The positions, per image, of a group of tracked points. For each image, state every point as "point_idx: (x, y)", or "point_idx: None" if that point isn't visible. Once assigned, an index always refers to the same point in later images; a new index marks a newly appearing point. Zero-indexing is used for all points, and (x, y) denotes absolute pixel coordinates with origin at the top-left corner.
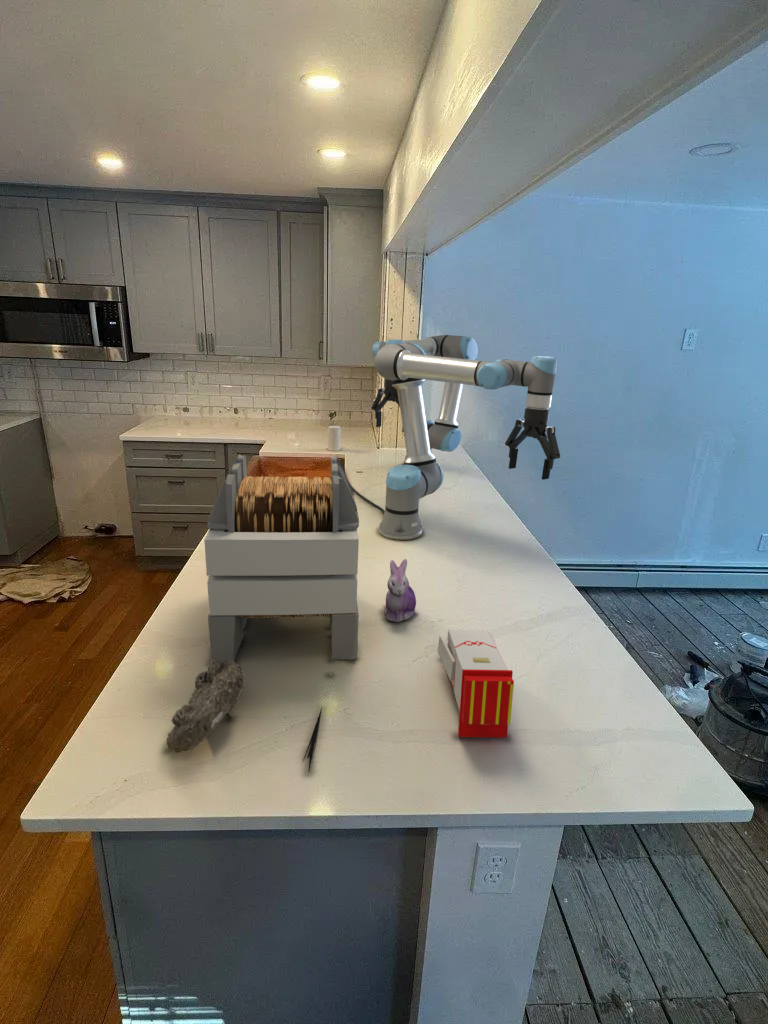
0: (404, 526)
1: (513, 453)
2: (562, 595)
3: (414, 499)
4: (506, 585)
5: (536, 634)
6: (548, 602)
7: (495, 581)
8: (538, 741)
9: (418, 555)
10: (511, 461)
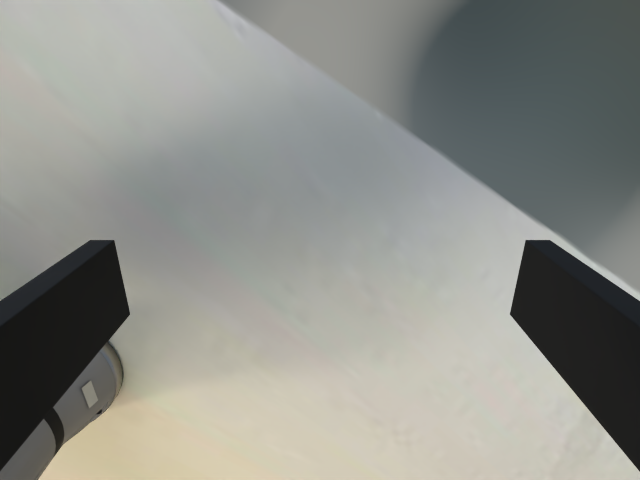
0: (91, 417)
1: (12, 428)
2: None
3: (22, 467)
4: (462, 360)
5: (617, 446)
6: None
7: (432, 365)
8: None
9: (219, 411)
10: (86, 360)
